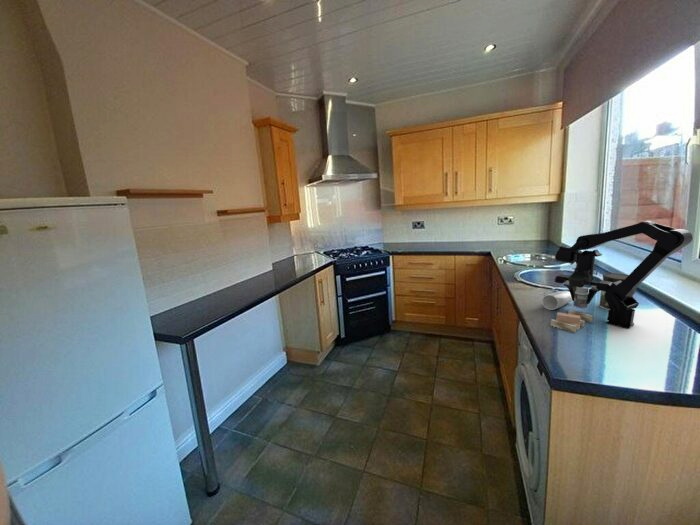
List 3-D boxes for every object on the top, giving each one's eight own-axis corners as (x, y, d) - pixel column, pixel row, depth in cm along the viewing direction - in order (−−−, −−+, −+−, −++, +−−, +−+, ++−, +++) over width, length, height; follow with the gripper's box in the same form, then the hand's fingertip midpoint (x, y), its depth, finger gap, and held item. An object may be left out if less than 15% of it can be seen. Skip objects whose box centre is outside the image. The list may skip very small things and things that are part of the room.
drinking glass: (572, 306, 137) (555, 312, 129) (557, 299, 142) (539, 305, 134) (578, 292, 134) (560, 298, 127) (561, 286, 140) (544, 291, 132)
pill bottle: (573, 304, 130) (575, 285, 128) (587, 306, 127) (589, 286, 125) (572, 307, 126) (574, 288, 125) (587, 309, 123) (589, 289, 122)
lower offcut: (579, 329, 113) (580, 323, 112) (577, 331, 111) (577, 325, 110) (558, 323, 118) (558, 317, 118) (555, 325, 116) (555, 319, 116)
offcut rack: (592, 321, 118) (593, 315, 117) (574, 333, 109) (575, 326, 109) (569, 315, 124) (569, 309, 124) (550, 326, 116) (551, 319, 115)
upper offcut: (579, 321, 113) (580, 315, 113) (579, 324, 111) (580, 318, 110) (556, 318, 117) (557, 312, 117) (556, 321, 115) (557, 314, 114)
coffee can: (634, 313, 123) (639, 280, 120) (601, 310, 128) (606, 278, 125) (626, 305, 132) (630, 274, 129) (596, 302, 137) (600, 272, 134)
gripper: (550, 265, 126) (547, 300, 130) (606, 273, 111) (600, 313, 114) (562, 261, 132) (559, 295, 136) (617, 268, 117) (611, 306, 120)
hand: (580, 302), depth 126 cm, fingers closed on pill bottle, 5 cm apart
